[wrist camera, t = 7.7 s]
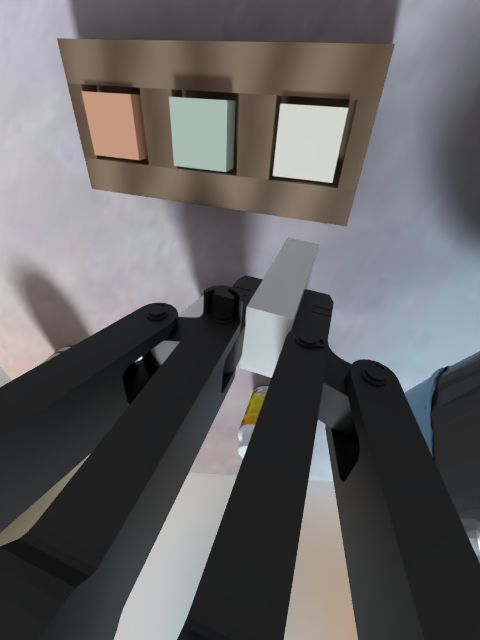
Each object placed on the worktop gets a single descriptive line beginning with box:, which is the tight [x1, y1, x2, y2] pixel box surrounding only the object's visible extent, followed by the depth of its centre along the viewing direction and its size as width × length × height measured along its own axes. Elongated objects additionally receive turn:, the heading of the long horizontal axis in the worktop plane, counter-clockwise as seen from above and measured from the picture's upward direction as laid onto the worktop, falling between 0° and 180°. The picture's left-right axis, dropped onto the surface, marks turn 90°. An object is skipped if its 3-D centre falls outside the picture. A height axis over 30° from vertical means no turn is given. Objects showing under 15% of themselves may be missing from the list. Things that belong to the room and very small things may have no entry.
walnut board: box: [57, 39, 395, 226], centre depth 27 cm, size 27×12×3 cm, turn 87°
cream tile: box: [273, 104, 349, 183], centre depth 24 cm, size 5×5×2 cm
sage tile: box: [169, 97, 236, 172], centre depth 26 cm, size 5×5×2 cm
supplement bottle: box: [238, 386, 269, 458], centre depth 43 cm, size 6×6×10 cm
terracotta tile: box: [81, 91, 148, 160], centre depth 28 cm, size 5×5×2 cm
